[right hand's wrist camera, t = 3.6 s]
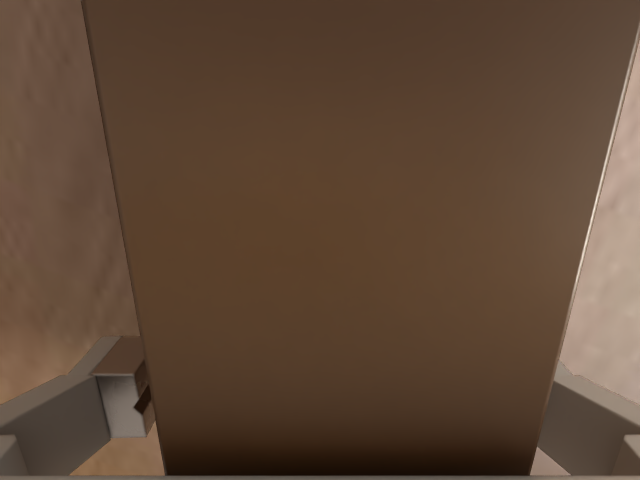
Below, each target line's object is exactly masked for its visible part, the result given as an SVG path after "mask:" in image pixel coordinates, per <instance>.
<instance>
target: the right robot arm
mask: <svg viewBox="0 0 640 480" xmlns="http://www.w3.org/2000/svg"><path fill="white" fill-rule="evenodd" d="M154 421H155V415H154V409H153V403H152V398H151V392H150V387H149V381H148V375H147V370H146V364H145V358H144V353H143V347H142V341H141V336H104V337H101V338H100V339H99V340H98V341H97V342H96V344H95V345H94V346H93V347H92V348H91V349H90V350H89V351H88V352H87V354H86V355H85V356H84V357H83V358H82V359H81V360H80V361H79V362H78V363H77V365H76V366H75V367H74V368H73V369H72V370H71V371H70V372H69V373H68V375H60V376H58V377H56V378H54V379H52V380H50V381H48V382H46V383H44V384H42V385H40V386H38V387H36V388H34V389H32V390H30V391H28V392H26V393H24V394H22V395H20V396H18V397H16V398H14V399H12V400H10V401H8V402H6V403H4V404H2V405H0V480H640V405H638V404H636V403H634V402H632V401H630V400H628V399H626V398H624V397H622V396H620V395H618V394H616V393H614V392H612V391H610V390H608V389H606V388H604V387H602V386H600V385H598V384H596V383H594V382H592V381H590V380H588V379H586V378H584V377H582V376H580V375H572V373H571V372H570V371H569V370H568V369H567V368H566V367H565V366H564V365H563V363H562V362H561V361H560V360H559V361H558V365H557V369H556V373H555V377H554V381H553V385H552V389H551V393H550V397H549V401H548V405H547V408H546V412H545V416H544V420H543V424H542V428H541V432H540V436H539V440H538V444H537V447H539V448H540V449H541V450H542V451H543V452H545V453H546V454H547V455H548V456H549V457H551V458H552V459H553V460H554V461H555V462H556V463H558V464H559V465H560V466H561V467H562V468H564V469H565V470H566V471H567V472H568V473H570V474H571V475H572V476H68V475H69V474H70V473H72V472H73V471H74V470H75V469H76V468H78V467H79V466H80V465H81V464H82V463H84V462H85V461H86V460H87V459H88V458H90V457H91V456H92V455H93V454H94V453H96V452H97V451H98V450H99V449H100V448H102V447H103V446H104V445H105V444H106V443H108V442H109V441H110V440H111V439H110V438H132V437H147V435H148V433H149V431H150V429H151V427H152V425H153V423H154Z"/></svg>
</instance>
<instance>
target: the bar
mask: <svg viewBox="0 0 640 480" xmlns="http://www.w3.org/2000/svg"><path fill="white" fill-rule="evenodd" d="M81 3H82V9H83V15H84V20H85V26H86V32H87V37H88V43H89V48H90V54H91V60H92V65H93V71H94V77H95V82H96V88H97V94H98V99H99V105H100V110H101V116H102V122H103V127H104V133H105V139H106V144H107V150H108V156H109V161H110V167H111V172H112V178H113V184H114V189H115V195H116V201H117V206H118V212H119V218H120V223H121V229H122V234H123V240H124V246H125V251H126V257H127V263H128V268H129V274H130V279H131V285H132V291H133V296H134V302H135V308H136V313H137V319H138V325H139V330H140V336H141V341H142V347H143V353H144V358H145V364H146V370H147V375H148V381H149V387H150V392H151V398H152V403H153V409H154V415H155V420H156V426H157V432H158V437H159V443H160V449H161V454H162V460H163V465H164V471H165V476H530V472H531V468H532V464H533V460H534V456H535V452H536V448H537V444H538V440H539V436H540V432H541V428H542V424H543V420H544V416H545V412H546V408H547V405H548V401H549V397H550V393H551V389H552V385H553V381H554V377H555V373H556V369H557V365H558V361H559V357H560V353H561V349H562V345H563V341H564V337H565V333H566V329H567V325H568V321H569V317H570V313H571V309H572V305H573V301H574V297H575V293H576V290H577V286H578V282H579V278H580V274H581V270H582V266H583V262H584V258H585V254H586V250H587V246H588V242H589V238H590V234H591V230H592V226H593V222H594V218H595V214H596V210H597V206H598V202H599V198H600V194H601V190H602V186H603V182H604V178H605V175H606V171H607V167H608V163H609V159H610V155H611V151H612V147H613V143H614V139H615V135H616V131H617V127H618V123H619V119H620V115H621V111H622V107H623V103H624V99H625V95H626V91H627V87H628V83H629V79H630V75H631V71H632V67H633V63H634V60H635V56H636V52H637V48H638V44H639V40H640V0H81Z"/></svg>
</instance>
